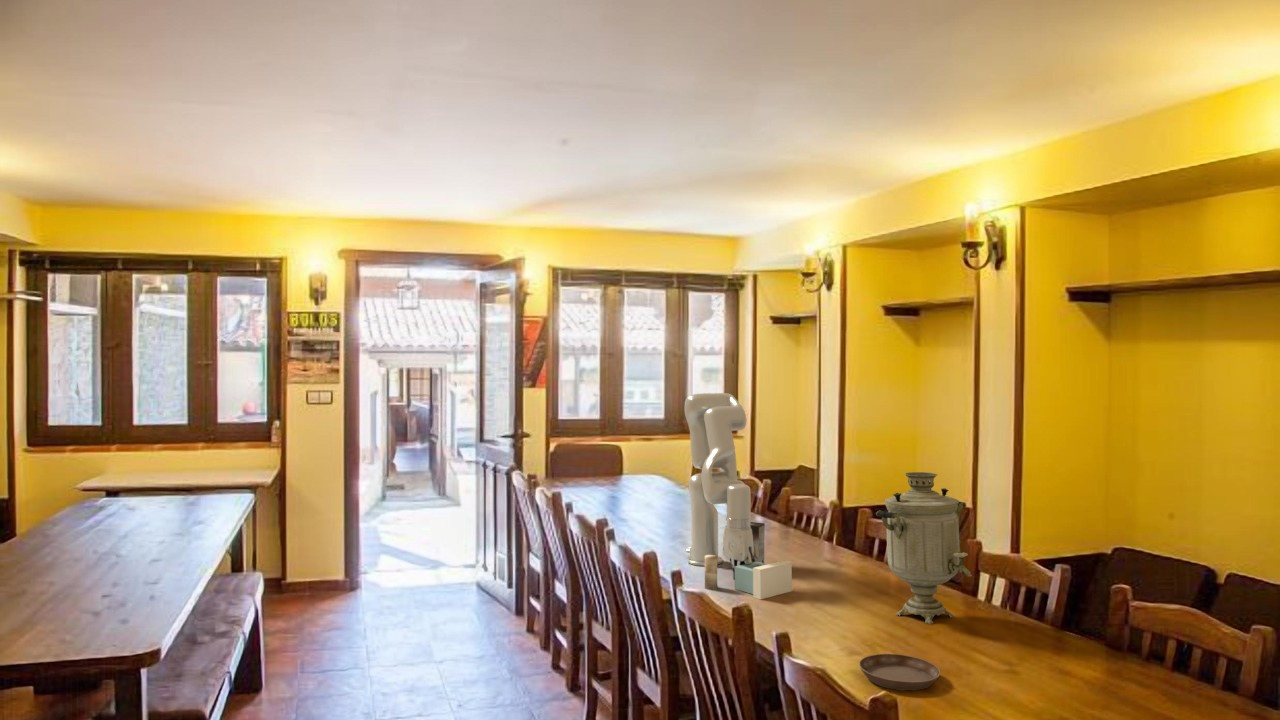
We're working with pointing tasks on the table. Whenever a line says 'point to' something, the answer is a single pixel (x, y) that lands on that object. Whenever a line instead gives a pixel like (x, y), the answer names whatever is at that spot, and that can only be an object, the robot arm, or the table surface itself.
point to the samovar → (923, 542)
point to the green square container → (745, 576)
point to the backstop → (772, 579)
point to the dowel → (710, 572)
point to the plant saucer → (899, 671)
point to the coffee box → (758, 541)
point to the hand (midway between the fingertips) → (738, 579)
